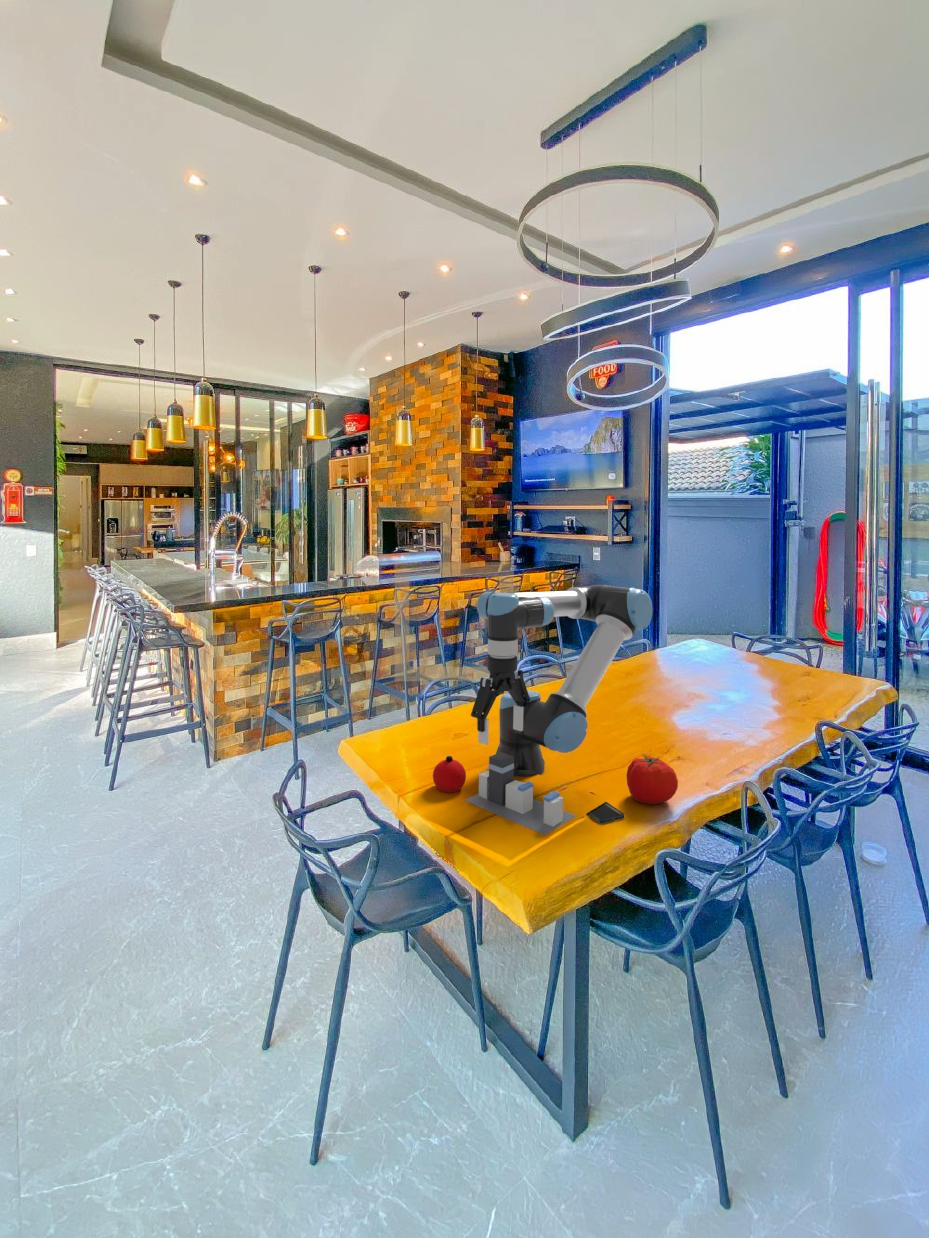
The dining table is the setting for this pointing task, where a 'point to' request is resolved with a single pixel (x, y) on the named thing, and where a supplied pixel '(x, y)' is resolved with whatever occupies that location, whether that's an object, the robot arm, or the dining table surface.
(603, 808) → the phone
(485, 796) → the grey plate with blocks
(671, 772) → the tomato
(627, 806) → the dining table surface
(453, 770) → the ornament
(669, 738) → the dining table surface
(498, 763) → the plug
